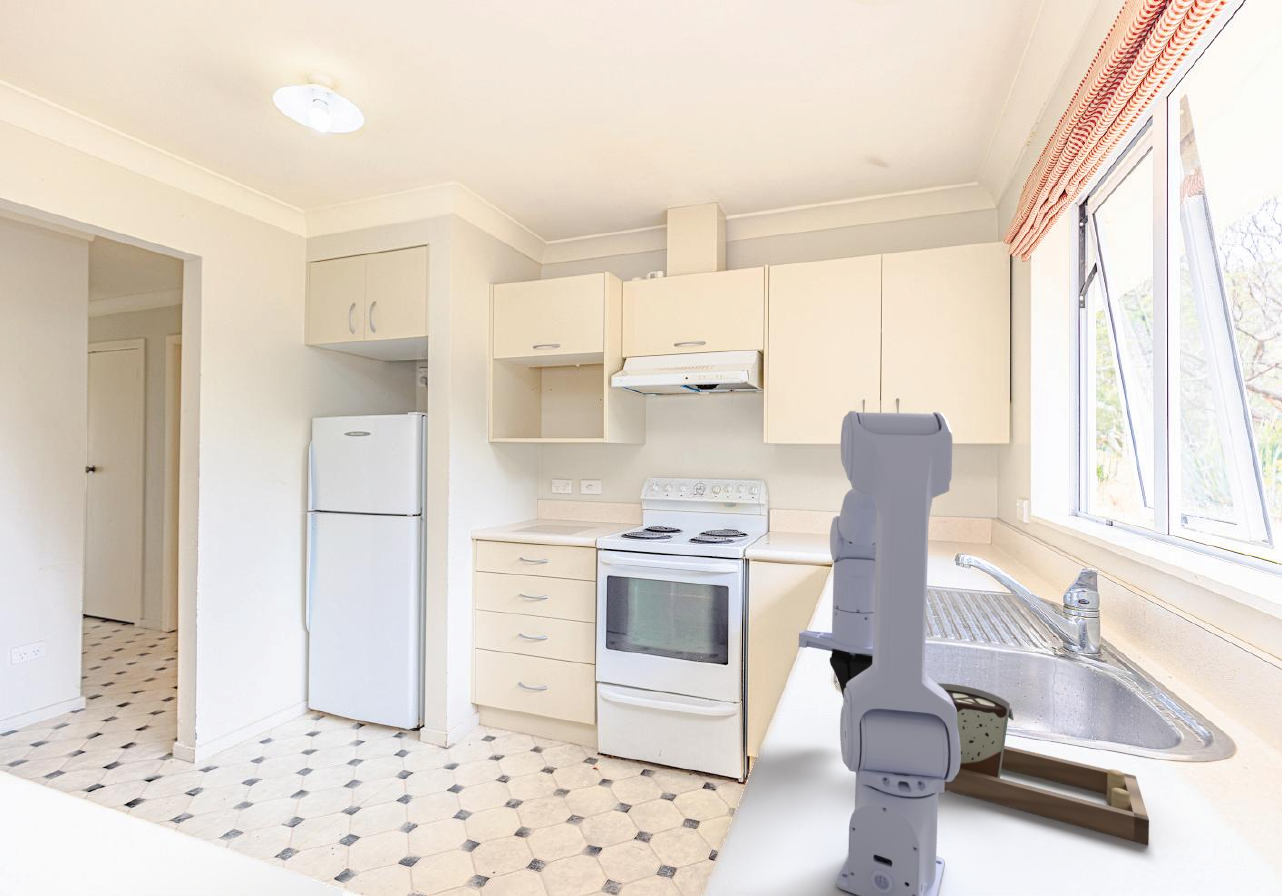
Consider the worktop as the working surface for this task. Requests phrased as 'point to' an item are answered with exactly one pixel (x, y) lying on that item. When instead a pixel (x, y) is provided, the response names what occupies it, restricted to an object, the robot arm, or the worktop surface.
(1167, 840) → the worktop surface
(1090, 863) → the worktop surface
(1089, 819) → the rail frame
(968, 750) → the food container
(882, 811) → the robot arm
